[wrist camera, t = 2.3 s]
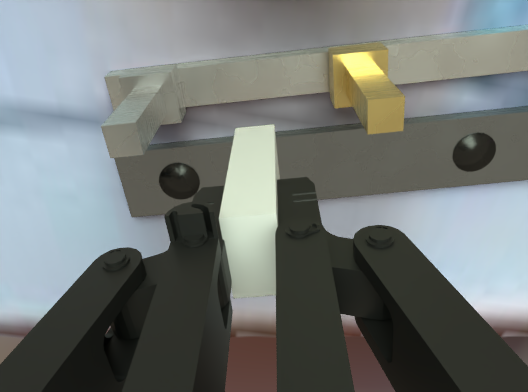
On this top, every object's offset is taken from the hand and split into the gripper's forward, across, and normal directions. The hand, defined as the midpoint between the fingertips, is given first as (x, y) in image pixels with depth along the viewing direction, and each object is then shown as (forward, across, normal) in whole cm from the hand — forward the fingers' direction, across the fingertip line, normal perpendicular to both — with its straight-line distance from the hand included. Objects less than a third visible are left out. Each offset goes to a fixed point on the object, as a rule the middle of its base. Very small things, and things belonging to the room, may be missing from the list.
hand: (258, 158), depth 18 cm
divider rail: (+13, +4, 0) cm, 13 cm away
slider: (+11, +6, 0) cm, 12 cm away
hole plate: (+13, +4, -6) cm, 15 cm away
